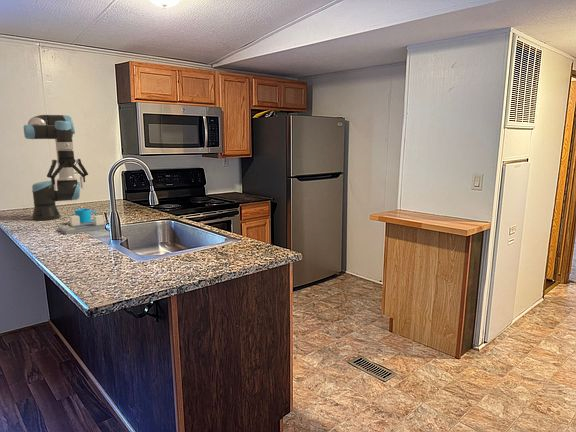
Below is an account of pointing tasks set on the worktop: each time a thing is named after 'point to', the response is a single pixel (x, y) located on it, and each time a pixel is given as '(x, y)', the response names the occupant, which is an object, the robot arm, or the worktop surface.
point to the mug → (84, 215)
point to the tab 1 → (74, 220)
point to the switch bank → (81, 228)
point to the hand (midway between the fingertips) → (69, 189)
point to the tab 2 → (98, 220)
